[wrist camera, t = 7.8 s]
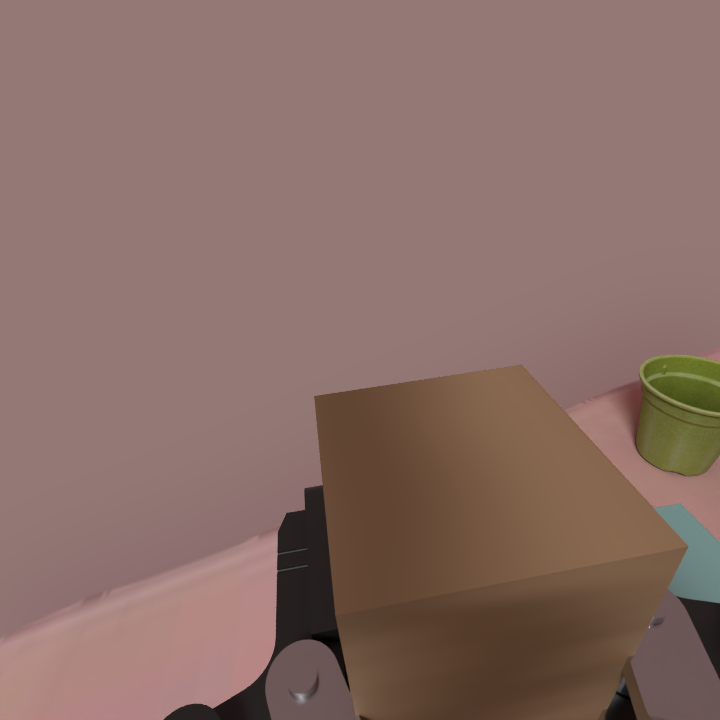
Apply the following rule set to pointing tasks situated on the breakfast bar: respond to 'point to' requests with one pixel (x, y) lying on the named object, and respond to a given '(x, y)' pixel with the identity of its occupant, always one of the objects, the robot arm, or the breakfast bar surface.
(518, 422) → the walnut pillar
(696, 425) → the plant pot
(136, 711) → the breakfast bar surface
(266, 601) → the breakfast bar surface
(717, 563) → the tower top
